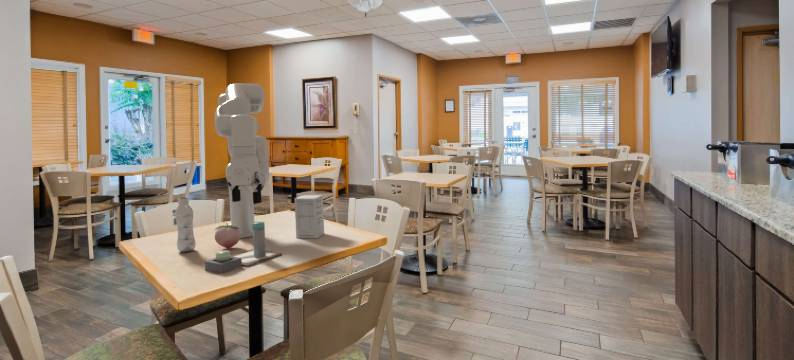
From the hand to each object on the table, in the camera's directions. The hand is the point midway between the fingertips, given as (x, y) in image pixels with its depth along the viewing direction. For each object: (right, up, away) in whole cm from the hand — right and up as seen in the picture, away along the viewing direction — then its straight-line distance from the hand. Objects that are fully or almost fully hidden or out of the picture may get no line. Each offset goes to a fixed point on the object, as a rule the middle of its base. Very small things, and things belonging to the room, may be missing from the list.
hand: (246, 202), depth 155 cm
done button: (-6, -19, -6) cm, 20 cm away
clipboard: (-1, -20, +6) cm, 21 cm away
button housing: (-6, -22, -5) cm, 23 cm away
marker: (+3, -19, +6) cm, 20 cm away
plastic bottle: (-28, -19, +17) cm, 38 cm away
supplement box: (+14, -16, +38) cm, 44 cm away
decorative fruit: (-14, -19, +20) cm, 30 cm away
